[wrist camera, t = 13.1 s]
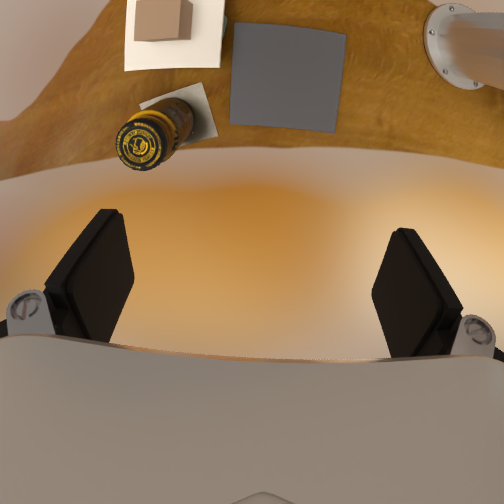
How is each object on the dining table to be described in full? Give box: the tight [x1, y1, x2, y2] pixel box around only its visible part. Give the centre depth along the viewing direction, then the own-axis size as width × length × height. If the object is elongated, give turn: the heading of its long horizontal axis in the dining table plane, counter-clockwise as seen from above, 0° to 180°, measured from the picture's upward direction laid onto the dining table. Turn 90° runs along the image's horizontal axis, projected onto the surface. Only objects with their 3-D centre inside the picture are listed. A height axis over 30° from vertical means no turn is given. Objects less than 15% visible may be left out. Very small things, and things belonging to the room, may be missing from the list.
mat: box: [229, 22, 347, 133], centre depth 33 cm, size 13×13×1 cm
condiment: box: [116, 82, 218, 171], centre depth 31 cm, size 7×8×12 cm
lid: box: [125, 0, 225, 71], centre depth 22 cm, size 10×10×6 cm
